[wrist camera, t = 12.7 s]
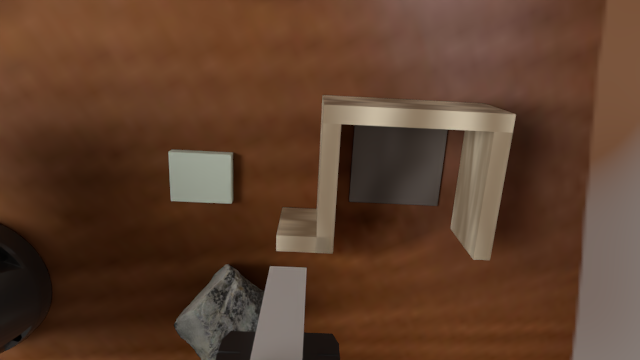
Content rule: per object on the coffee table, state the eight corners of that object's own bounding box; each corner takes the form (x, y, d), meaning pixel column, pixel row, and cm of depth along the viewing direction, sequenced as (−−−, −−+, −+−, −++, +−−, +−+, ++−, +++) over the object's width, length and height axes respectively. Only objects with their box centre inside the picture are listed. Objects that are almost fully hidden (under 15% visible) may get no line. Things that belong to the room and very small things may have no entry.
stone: (230, 399, 40) (203, 304, 37) (170, 361, 46) (142, 278, 43) (301, 336, 46) (282, 252, 43) (239, 311, 53) (219, 235, 50)
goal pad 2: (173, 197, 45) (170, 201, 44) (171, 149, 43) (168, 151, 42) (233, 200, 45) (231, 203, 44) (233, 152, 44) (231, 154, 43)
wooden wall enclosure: (277, 370, 51) (271, 419, 44) (285, 93, 42) (279, 102, 35) (441, 376, 51) (460, 425, 45) (484, 103, 42) (516, 114, 36)
